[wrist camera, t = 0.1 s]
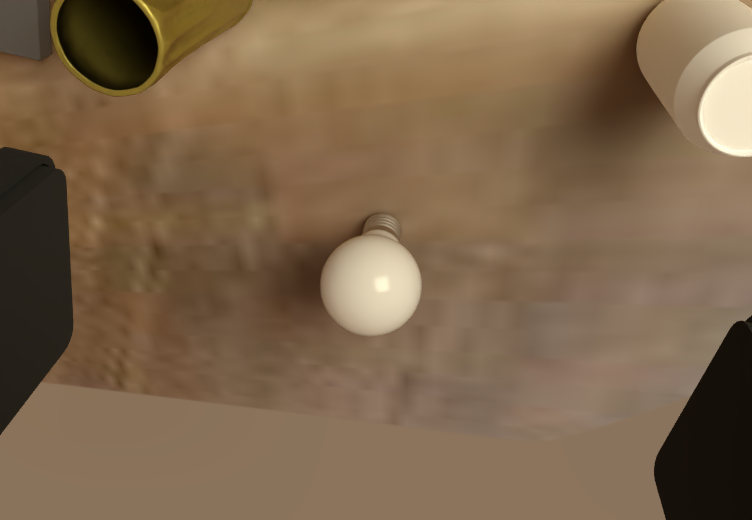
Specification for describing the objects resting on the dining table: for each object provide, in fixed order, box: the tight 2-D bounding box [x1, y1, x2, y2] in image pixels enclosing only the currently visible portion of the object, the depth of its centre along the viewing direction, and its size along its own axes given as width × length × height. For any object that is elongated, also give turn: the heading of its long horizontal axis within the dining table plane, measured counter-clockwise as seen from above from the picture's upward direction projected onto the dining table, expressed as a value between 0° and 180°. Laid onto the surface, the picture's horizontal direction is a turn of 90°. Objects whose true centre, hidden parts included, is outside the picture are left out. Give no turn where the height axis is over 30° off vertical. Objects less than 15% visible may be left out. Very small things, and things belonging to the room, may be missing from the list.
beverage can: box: [636, 0, 752, 157], centre depth 37 cm, size 6×6×12 cm
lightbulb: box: [320, 213, 422, 337], centre depth 47 cm, size 6×6×11 cm
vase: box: [50, 0, 253, 97], centre depth 38 cm, size 6×6×14 cm
